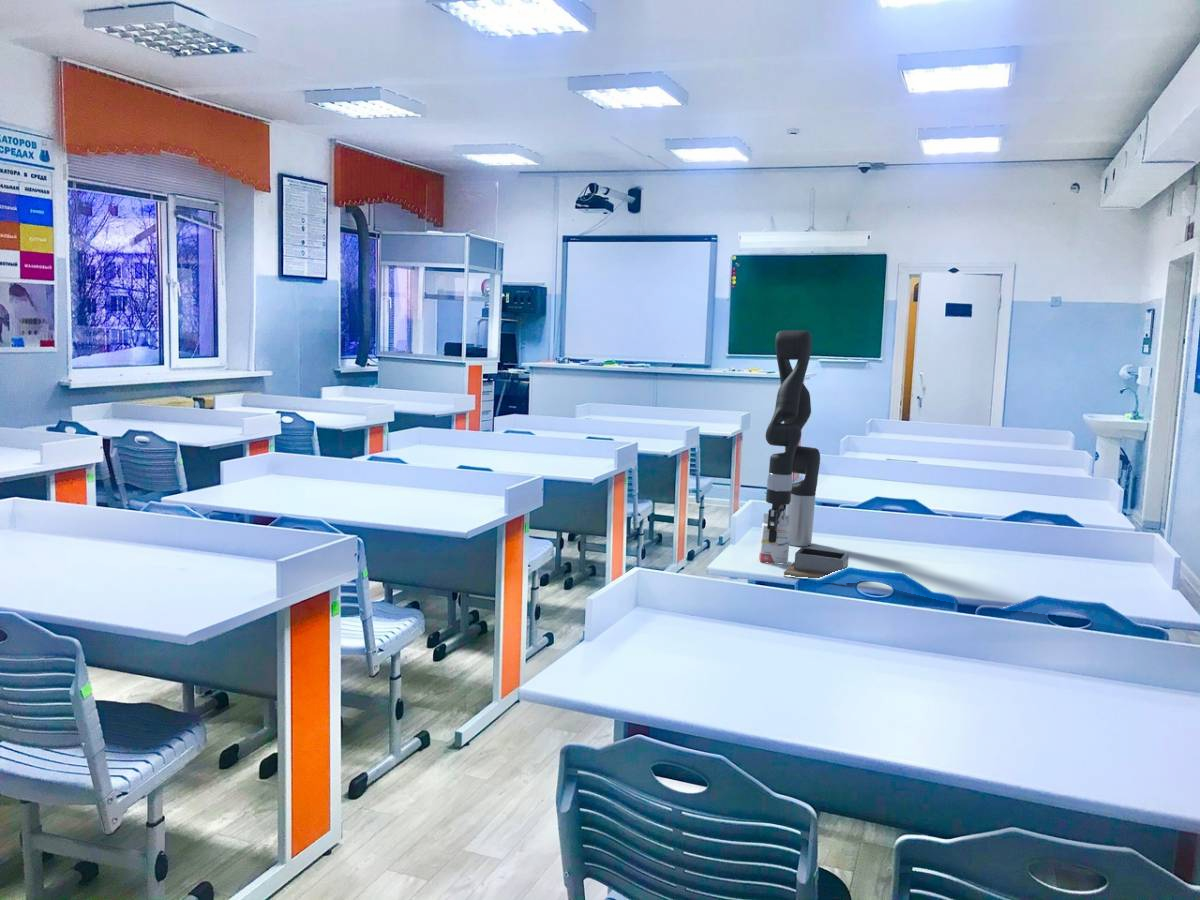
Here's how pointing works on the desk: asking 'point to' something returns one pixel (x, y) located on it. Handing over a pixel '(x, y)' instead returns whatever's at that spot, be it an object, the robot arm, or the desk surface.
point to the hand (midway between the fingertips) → (775, 539)
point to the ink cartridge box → (778, 549)
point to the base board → (801, 573)
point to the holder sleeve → (820, 561)
